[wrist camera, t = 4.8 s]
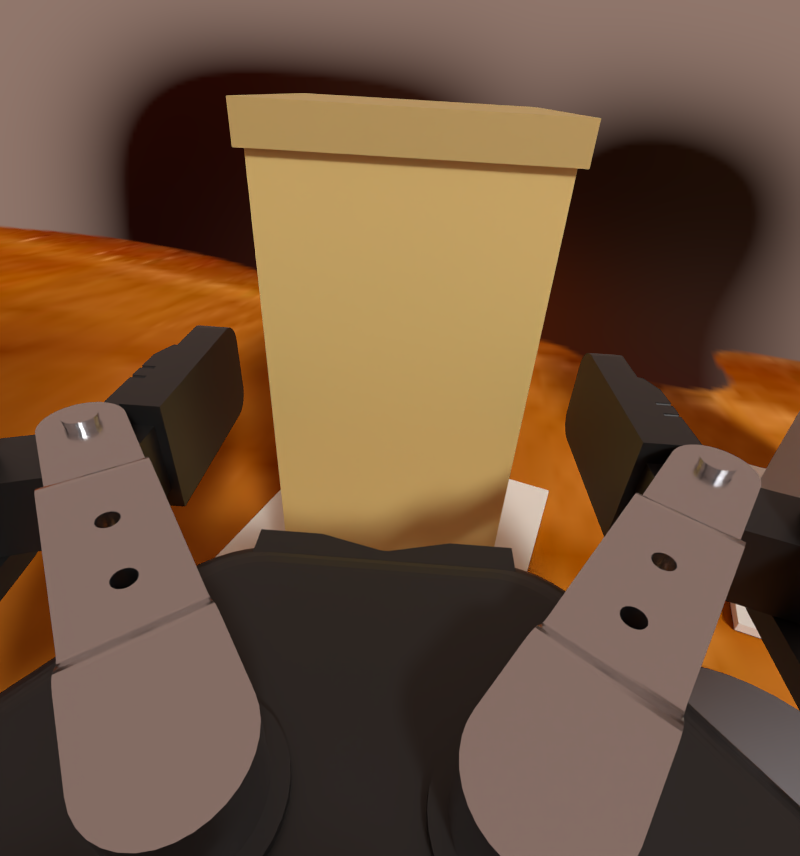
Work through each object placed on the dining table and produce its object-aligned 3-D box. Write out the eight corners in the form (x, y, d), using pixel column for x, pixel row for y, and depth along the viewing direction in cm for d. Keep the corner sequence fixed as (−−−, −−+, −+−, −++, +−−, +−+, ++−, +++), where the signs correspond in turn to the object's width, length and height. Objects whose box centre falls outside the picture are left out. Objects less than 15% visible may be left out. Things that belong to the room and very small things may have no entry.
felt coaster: (505, 1015, 8) (509, 1011, 8) (568, 627, 15) (571, 618, 14) (1168, 1421, 6) (1199, 1430, 6) (906, 750, 12) (917, 742, 12)
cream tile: (192, 590, 15) (190, 583, 15) (338, 435, 22) (338, 429, 22) (486, 719, 12) (488, 713, 12) (547, 496, 19) (548, 490, 19)
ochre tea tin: (285, 596, 15) (225, 95, 8) (321, 471, 19) (303, 93, 13) (486, 611, 14) (600, 118, 8) (472, 481, 19) (535, 107, 13)
